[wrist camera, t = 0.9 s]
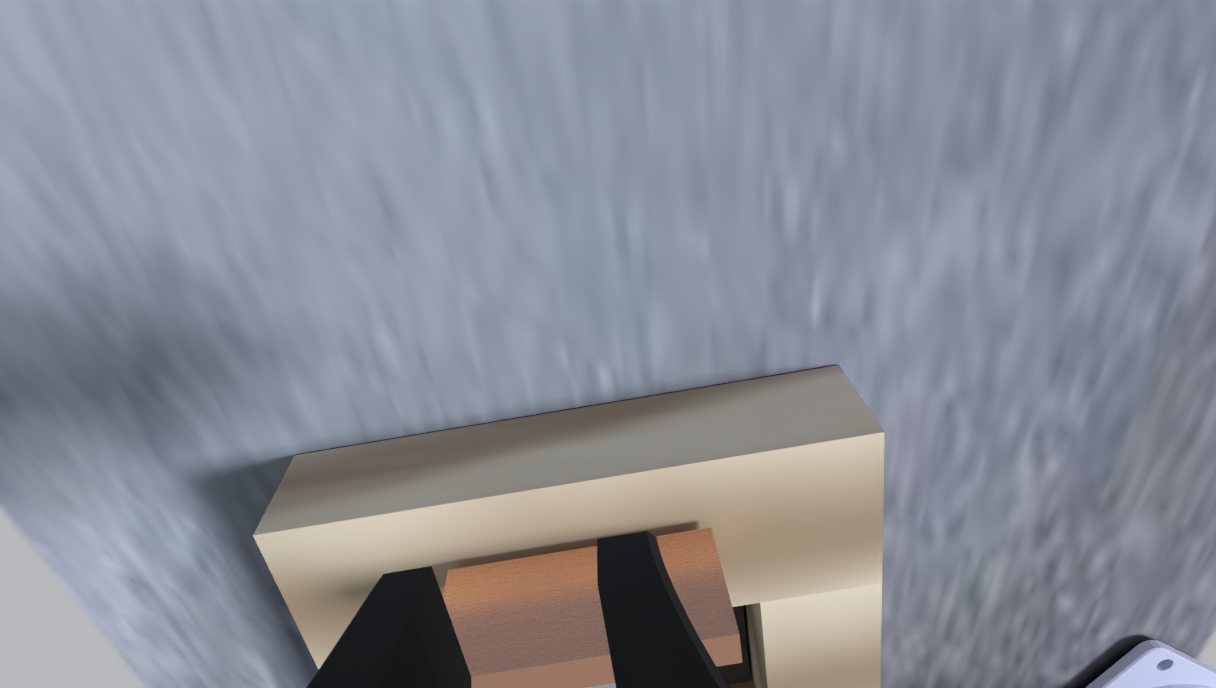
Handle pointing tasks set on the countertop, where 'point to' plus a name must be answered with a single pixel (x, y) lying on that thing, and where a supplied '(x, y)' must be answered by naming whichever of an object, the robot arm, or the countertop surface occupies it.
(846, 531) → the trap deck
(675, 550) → the slider
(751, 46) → the countertop surface
